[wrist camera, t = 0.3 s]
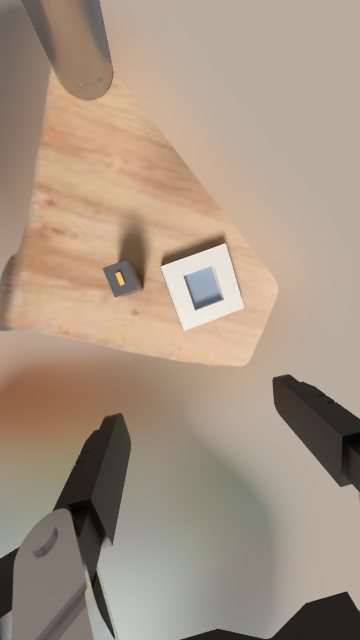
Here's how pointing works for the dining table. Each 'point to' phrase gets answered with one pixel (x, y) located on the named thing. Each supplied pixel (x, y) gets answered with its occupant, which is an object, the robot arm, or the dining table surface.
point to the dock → (203, 286)
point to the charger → (122, 278)
